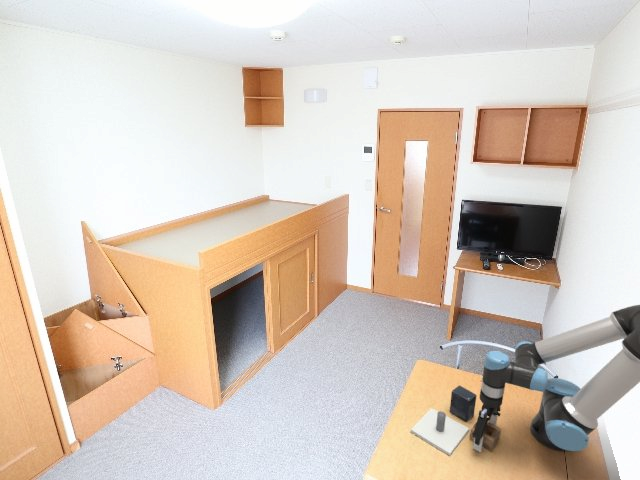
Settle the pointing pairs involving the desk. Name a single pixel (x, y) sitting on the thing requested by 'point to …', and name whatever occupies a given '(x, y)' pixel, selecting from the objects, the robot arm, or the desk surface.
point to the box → (462, 403)
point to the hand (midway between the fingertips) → (484, 439)
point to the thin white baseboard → (440, 431)
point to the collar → (488, 436)
